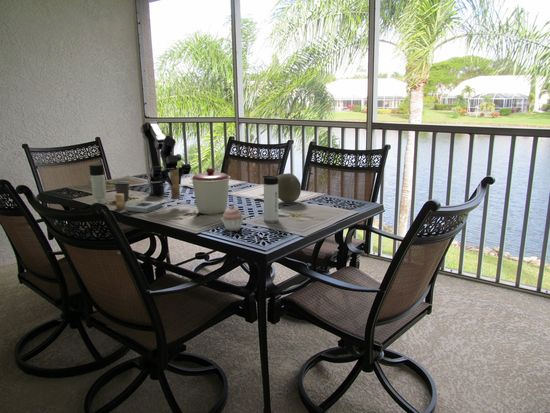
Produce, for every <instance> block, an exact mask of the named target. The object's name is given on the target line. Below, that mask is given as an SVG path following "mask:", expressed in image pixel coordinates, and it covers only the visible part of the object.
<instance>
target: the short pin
mask: <svg viewBox="0 0 550 413" xmlns="http://www.w3.org/2000/svg"><path fill="white" fill-rule="evenodd" d="M114 196H115V205H116V206H115V207H116V210H124V209H125V210H126V203H125V201H126V200H125V201H124V194H117V193H116V194H114Z"/></svg>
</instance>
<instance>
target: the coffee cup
mask: <svg viewBox="0 0 550 413" xmlns="http://www.w3.org/2000/svg"><path fill="white" fill-rule="evenodd" d="M130 183H131V182H130V181H128V180H117V181H115V182H113V185H114V188H115V192H116V194H124V201H128V200H129V199H130V198H129V195H130V194H129V193H130V191H129V190H130Z"/></svg>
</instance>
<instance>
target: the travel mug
mask: <svg viewBox="0 0 550 413" xmlns="http://www.w3.org/2000/svg"><path fill="white" fill-rule="evenodd" d="M262 178H263V221H264V223H266V222H267V224H276V223H278V222H279V198H278V178H277V176H275V175H274V176H273V175H262ZM275 222H276V223H275Z"/></svg>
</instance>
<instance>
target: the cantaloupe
mask: <svg viewBox="0 0 550 413" xmlns="http://www.w3.org/2000/svg"><path fill="white" fill-rule="evenodd" d="M276 177H277V178H278V200H279V201H281V202H284V203H293V202H296V201H297V200H298V199H299V198H300V196H301V192H302V190H301V188H302V185H301V182H300V180H299V179H298V177H297V176H296V175H295V174H293V173H281V174H278V175H276Z"/></svg>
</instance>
